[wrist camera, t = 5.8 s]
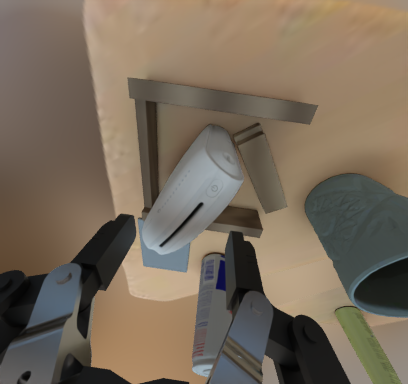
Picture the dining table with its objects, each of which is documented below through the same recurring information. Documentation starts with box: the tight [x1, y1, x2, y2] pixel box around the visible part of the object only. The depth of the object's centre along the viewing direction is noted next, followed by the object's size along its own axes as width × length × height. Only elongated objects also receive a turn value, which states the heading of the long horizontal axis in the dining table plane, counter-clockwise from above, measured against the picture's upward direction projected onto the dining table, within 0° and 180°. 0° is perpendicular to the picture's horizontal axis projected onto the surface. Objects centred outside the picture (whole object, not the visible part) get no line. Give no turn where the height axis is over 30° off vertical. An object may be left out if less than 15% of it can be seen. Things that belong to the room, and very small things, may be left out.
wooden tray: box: [128, 78, 318, 238], centre depth 20 cm, size 16×16×4 cm
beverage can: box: [192, 254, 232, 377], centre depth 26 cm, size 6×6×15 cm
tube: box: [335, 307, 402, 384], centre depth 30 cm, size 6×5×20 cm
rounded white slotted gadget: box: [142, 124, 244, 255], centre depth 16 cm, size 10×4×12 cm, turn 143°
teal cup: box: [305, 174, 408, 318], centre depth 18 cm, size 10×10×12 cm
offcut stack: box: [233, 123, 288, 214], centre depth 20 cm, size 3×11×3 cm, turn 27°
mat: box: [138, 218, 190, 272], centre depth 31 cm, size 9×13×1 cm
